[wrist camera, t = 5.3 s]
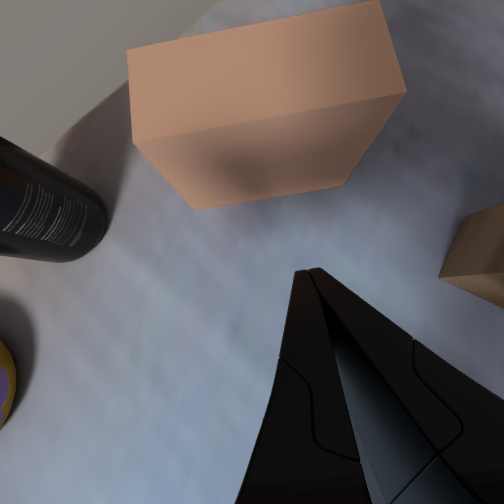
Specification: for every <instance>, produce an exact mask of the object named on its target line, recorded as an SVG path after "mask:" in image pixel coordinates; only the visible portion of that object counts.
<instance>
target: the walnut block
mask: <svg viewBox="0 0 504 504" xmlns="http://www.w3.org/2000/svg"><path fill="white" fill-rule="evenodd" d="M438 278H439V279H442V280H444V281H446V282H448V283H450V284H452V285H455V286H457V287H459V288H461V289H463V290H465V291H467V292H470V293H472V294H474V295H476V296H478V297H480V298H483V299H485V300H487V301H489V302H491V303H493V304H495V305H498V306H500V307H502V308H504V203H501V204H498V205H496V206H493V207H491V208H488V209H485V210H483V211H480V212H477V213H475V214H472V215H470V216H467V217H464V218H463V220H462V222H461V224H460V227H459V229H458V232H457V234H456V236H455V239H454V241H453V244H452V246H451V248H450V251H449V253H448V256H447V258H446V260H445V263H444V265H443V268H442V270H441V272H440V275H439V277H438Z"/></svg>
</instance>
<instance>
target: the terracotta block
mask: <svg viewBox="0 0 504 504" xmlns="http://www.w3.org/2000/svg"><path fill="white" fill-rule="evenodd" d="M127 63H128V78H129V93H130V109H131V124H132V139H133V144H134V145H135V146H136V147H137V148H138V149H139V150H140V151H141V152H142V153H143V155H144V156H145V157H146V158H147V159H148V160H149V161H150V162H151V163H152V164H153V166H154V167H155V168H156V169H157V170H158V171H159V172H160V173H161V174H162V175H163V176H164V178H165V179H166V180H167V181H168V182H169V183H170V184H171V185H172V186H173V187H174V189H175V190H176V191H177V192H178V193H179V194H180V195H181V196H182V197H183V198H184V199H185V201H186V202H187V203H188V204H189V205H190V206H191V207H192V208H193V209H194V210H195V211H196V210H202V209H207V208H213V207H219V206H225V205H231V204H237V203H243V202H249V201H255V200H261V199H267V198H273V197H279V196H285V195H290V194H296V193H302V192H308V191H314V190H320V189H326V188H332V187H338V186H343V185H344V184H345V182H346V181H347V179H348V178H349V176H350V175H351V173H352V172H353V171H354V169H355V168H356V166H357V165H358V163H359V162H360V160H361V159H362V158H363V156H364V155H365V153H366V152H367V150H368V149H369V147H370V146H371V145H372V143H373V142H374V140H375V139H376V137H377V136H378V134H379V133H380V131H381V130H382V129H383V127H384V126H385V124H386V123H387V121H388V120H389V118H390V117H391V116H392V114H393V113H394V111H395V110H396V108H397V107H398V105H399V104H400V102H401V101H402V100H403V98H404V97H405V95H406V94H407V88H406V85H405V82H404V79H403V75H402V72H401V69H400V65H399V62H398V59H397V56H396V52H395V49H394V46H393V43H392V39H391V36H390V33H389V29H388V26H387V23H386V20H385V16H384V13H383V10H382V7H381V3H380V0H370V1H365V2H360V3H355V4H350V5H345V6H340V7H335V8H330V9H326V10H321V11H316V12H311V13H306V14H301V15H296V16H291V17H286V18H281V19H276V20H271V21H266V22H261V23H257V24H252V25H247V26H242V27H237V28H232V29H227V30H222V31H217V32H212V33H207V34H202V35H197V36H193V37H188V38H183V39H178V40H173V41H169V42H163V43H158V44H153V45H148V46H143V47H138V48H134V49H129V50H127Z"/></svg>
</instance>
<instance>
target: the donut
mask: <svg viewBox="0 0 504 504" xmlns="http://www.w3.org/2000/svg"><path fill="white" fill-rule="evenodd" d="M15 392H16V369H15V365H14V362H13V358H12V356H11V354H10V352H9V351H8V349H7V347H6V346H5V344H4V343H3V342H2V341H1V340H0V428H1V427H2V425H3V423H4V422H5V420H6V418H7V416H8V414H9V412H10V410H11V407H12V403H13V400H14V396H15Z"/></svg>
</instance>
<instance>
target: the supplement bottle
mask: <svg viewBox="0 0 504 504" xmlns="http://www.w3.org/2000/svg"><path fill="white" fill-rule="evenodd" d="M105 226H106V210H105V206H104V204H103V201H102V199H101V198H100V196H99V195H98V194H97V193H96V192H95V191H94V190H93V189H91V188H90V187H89V186H87V185H85V184H83V183H82V182H80V181H78V180H77V179H75V178H73V177H71V176H70V175H68V174H66V173H64V172H63V171H61V170H59V169H57V168H56V167H54V166H52V165H50V164H49V163H47V162H45V161H43V160H42V159H40V158H38V157H36V156H34V155H33V154H31V153H29V152H28V151H26V150H24V149H22V148H20V147H19V146H17V145H15V144H13V143H12V142H10V141H8V140H6V139H5V138H3V137H1V136H0V256H8V257H16V258H23V259H31V260H38V261H47V262H56V263H63V262H70V261H74V260H76V259H79V258H81V257H83V256H84V255H86V254H87V253H89V252H90V251H91V250H92V249H93V248H94V247H95V246H96V245H97V243H98V242H99V241H100V239H101V237H102V235H103V233H104V230H105Z"/></svg>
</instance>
